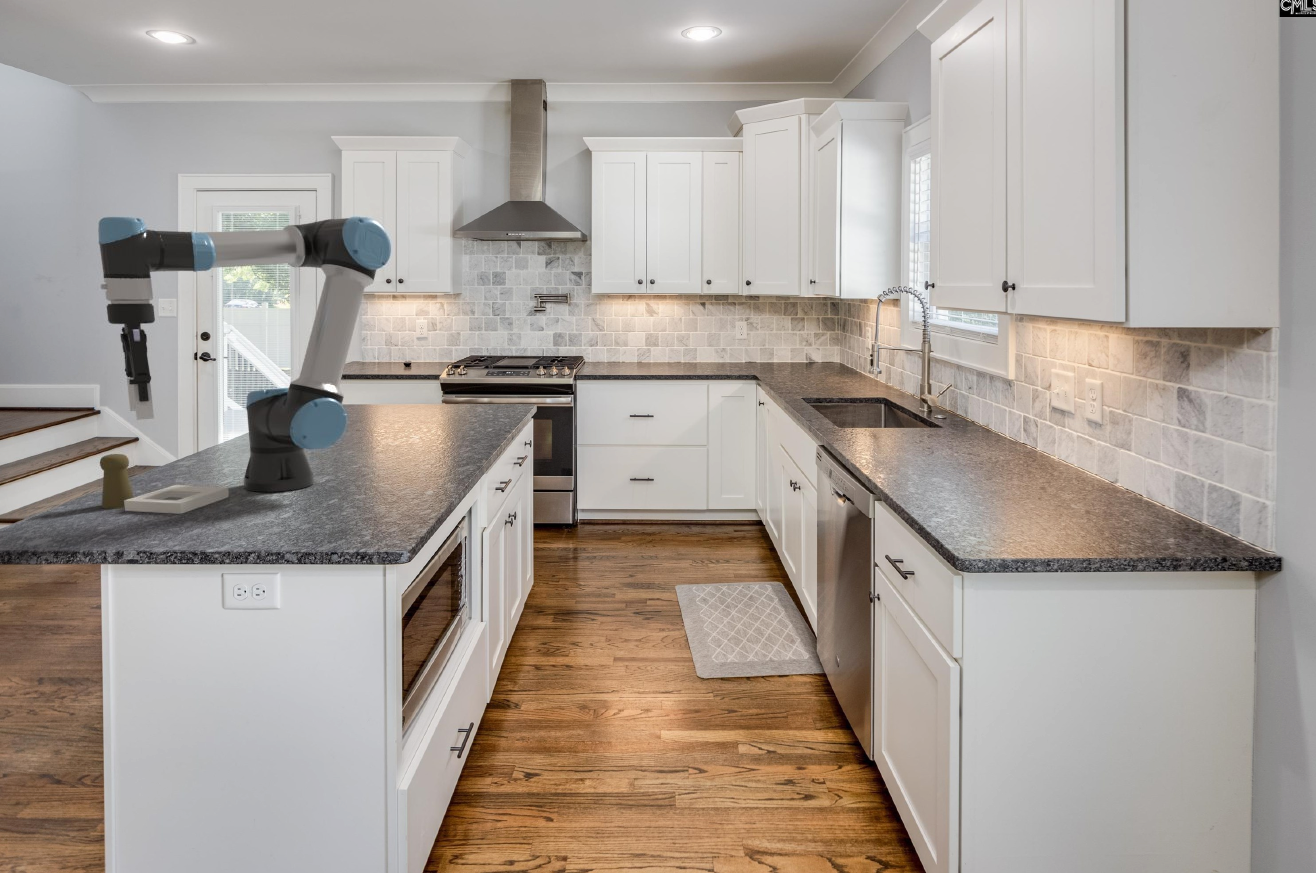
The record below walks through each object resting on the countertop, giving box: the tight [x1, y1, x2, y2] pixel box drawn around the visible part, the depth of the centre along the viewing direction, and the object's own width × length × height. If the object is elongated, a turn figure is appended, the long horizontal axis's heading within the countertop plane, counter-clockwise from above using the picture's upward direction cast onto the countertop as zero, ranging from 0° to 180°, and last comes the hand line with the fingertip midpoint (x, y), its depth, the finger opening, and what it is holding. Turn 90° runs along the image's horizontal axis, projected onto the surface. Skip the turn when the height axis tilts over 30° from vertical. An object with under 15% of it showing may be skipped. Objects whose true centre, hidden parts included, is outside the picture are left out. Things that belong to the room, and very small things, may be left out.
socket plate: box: [124, 484, 229, 514], centre depth 183 cm, size 15×13×2 cm
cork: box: [99, 453, 134, 510], centre depth 180 cm, size 6×6×11 cm
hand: (141, 414), depth 163 cm, fingers open, 13 cm apart
